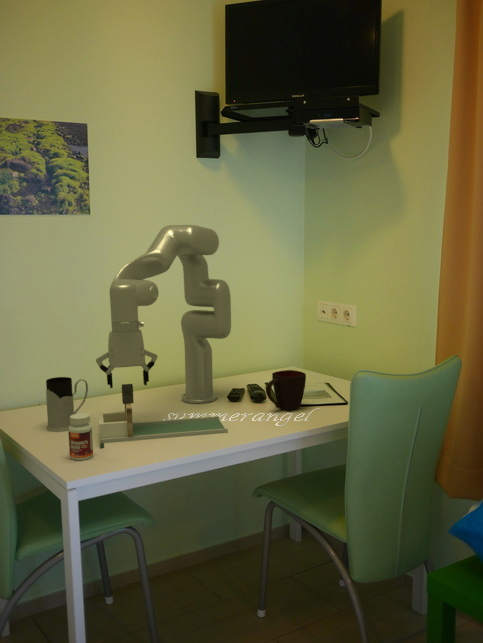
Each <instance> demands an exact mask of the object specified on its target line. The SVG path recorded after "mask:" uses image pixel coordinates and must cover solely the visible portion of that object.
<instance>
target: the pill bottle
mask: <svg viewBox="0 0 483 643" xmlns="http://www.w3.org/2000/svg"><path fill="white" fill-rule="evenodd" d="M90 422H91V416H90V413H84V412H82V413H81V412H78V413H76V414H73V415H71V416H70V424H72V425H70V426H69V428H68V431H67V432H68V447H69V448H68V450H69V452H68V453H69V458H70V459H71V460H74V461H84V460H89V459H91V458H92V457H93V456H94V443H93V442H94V441H93V426H92V424H91V423H90Z"/></svg>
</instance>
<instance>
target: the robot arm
mask: <svg viewBox="0 0 483 643" xmlns="http://www.w3.org/2000/svg"><path fill="white" fill-rule="evenodd" d="M219 247H220V239H219V236H218V234H217V232H216V230H213V229H212V228H208V227H203V226H200V225H195V224H170V225H166V226H164V227H163V228H161V229H160V230H159V232H158V234H157V235H156V236H155V238H154V240H153V241H152V243H151V245H150V246H149V248H148V249H147V250H146V251H145V253H144V254H142V255H140V256H138V257H136V258H135V259H133V260H132V261H129V262H128V263H126V264H125V265H124V266H122V267H121V268H120V269H119V271H118V272H117V274H116V275H115V277H114V278H113V280H112V282H111V284H110V287H109V300H110V301H109V304H110V306H109V307H110V320H111V321H110V324H111V331H109V332H108V340H107V342H108V345H107V348H108V349H107V350H108V351H107V352H106V353H104V354H102V355H100V356H99V357H98V358H96V359H95V363H96V364H97V367H99V369H100V370H101V371H102V372H103V373H105V374H106V380H107V381H106V382H107V383H106V384H107V385H108V386H109V388H110V389H113V387H114V386H113V383H114V382H113V373H112V371H113V370H114V369H115V368H119V369H120V368H133V367H141V368H142V369H143V370H142V377H143V382H142V383H143V386H148V382H150V380H149V379H150V374H149V372H150V370H151V369H152V368H153V367H154V366H155V364H156V361H157V359H158V355H157V354H156V353H153V352H151V351H149V350H146V349H145V344H144V337H143V333H142V329H140V328H142V327H144V325H145V324H144V322H143V321H140V320H139V313H138V309H139V308H138V307H148V306H152V305H153V304H154V303H155V302H157V300H158V298H159V287H158V286H157V284H156V283H154V282H153V281H152V280H147V279H148V278H153V277H157V276H159V275H162V274H164V273H166V272H168V271H169V270H170V268H171V266H172V265H173V262H174V261H175V259H176V258H177V257H178V259H179V260H180V263H181V265H182V270H183V271H182V272H183V291H184V300H185V303H186V304H187V305H189V306H191V307H197V308H198V307H199V308H200V307H201V308H213V310H206V309H205V310H204V309H193V310H192V309H191V310H188V311H186V312H184V314H183V315H182V316H181V320H180V327H181V332H182V336H183V346H184V371H185V375H184V376H185V394H182V395H181V401H183V402H184V403H189V404H207V403H212V402H215V401H216V400H218V395H217V393H215V392H214V391H213V390H214V387H213V349H212V346H211V344H210V342H209V341H208V339H216V340H217V339H218V340H220V339H221V340H222V339H226V338H228V337H229V335H230V333H231V330H232V308H231V307H232V303H231V302H232V300H231V298H232V297H231V291H230V290H231V289H230V286H229V284H228V283H227V282H226V281H225V280H223V279H217V278H215V279H214V278H213V279H211V278H210V276H209V266H208V262H207V260H206V258H205V256H212V255H214V254H215V253H216V252H217V251H218V250H219ZM146 356H147V357H149V358H151V359H150V361H149V362H148V363H146ZM107 359H108V363H109V364H108V366H106V365H104V363H103V361H105V360H107Z"/></svg>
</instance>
